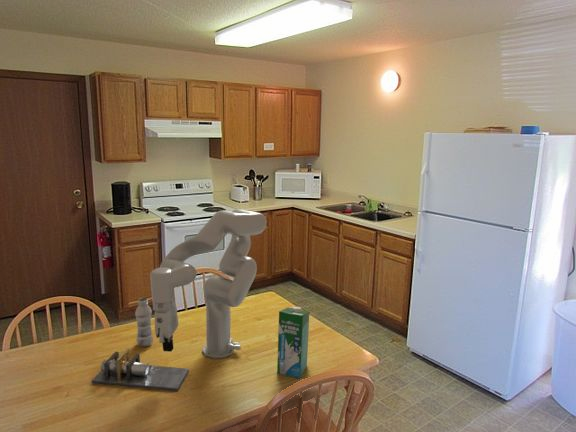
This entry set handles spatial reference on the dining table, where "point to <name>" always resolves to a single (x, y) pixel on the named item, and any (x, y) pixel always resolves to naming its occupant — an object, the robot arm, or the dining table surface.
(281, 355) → the milk carton
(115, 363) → the tube
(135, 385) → the plate
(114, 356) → the collar
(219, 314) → the robot arm
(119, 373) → the aperture bridge
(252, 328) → the dining table surface
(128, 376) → the collar
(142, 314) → the plastic bottle
